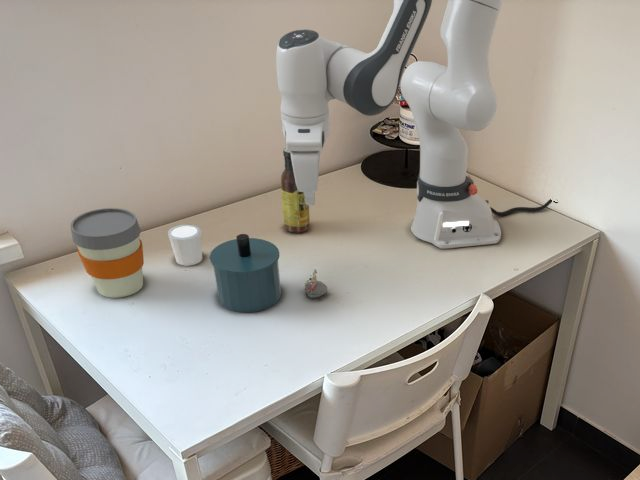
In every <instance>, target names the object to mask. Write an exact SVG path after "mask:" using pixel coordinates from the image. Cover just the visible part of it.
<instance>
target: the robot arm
mask: <svg viewBox="0 0 640 480" xmlns="http://www.w3.org/2000/svg"><path fill="white" fill-rule="evenodd" d="M392 1H393V9H392V13H391V15H390V18H389V20H388V22H387V25H386V27H385V29H384V31H383V33H382V36H381V38H380V40H379V42H378V44H377V46H376V48H375V49H374V50H372V51H371V52H364V51H361V50H359V49H358V48H355V47H353V46H349V45H347V44H345V43H342V42H336V41H332V40H330V39H329V38H326V37H324V36H322V35H320V34H319V32H317V31H315V30H312V29H296V30H292V31H289V32H287V33H285V34H284V35H283V36H282V37H280V38H279V40H278V43H277V47H276V53H275V68H276V83H277V88H278V91H279V94H280V98H281V99H280V105H279V111H280V121H281V130H282V136H283V137H284V139H285V148H287V151H290V153H291V161H292V166H293V172H294V177H295V182H296V186H297V189H298V191H299V192H304V196H305V203H306V205H309V206H315V204H316V195H315V194H316V193H315V192H317V191H318V189H319V188H318V186H319V173H320V171H319V170H320V157H321V153H322V151H323V149H324V145H325V142H326V140H327V138H328V137H329V136H330V133H331V128H330V127H331V124H330V110H329V102H330V101H332V100H337V101H339V102H341V103H343V104H345V105H348V106H349V107H351V108H352V109H354V110H356V112H359V113H360V114H361V115H364V116H368V117H374V116H378V115H379V114H381V113H383V112H385V111H386V110H387V109H388V108H389V107H391V105H392V104H393V103H394V101H395V99H396V97H397V94H398V91H399V87H400V93H401V96H402V97H403V99H404V100H405V102H406V103H407V105H408V107H409V109H410V112H411V115H412V117H413V120H414V123H415V127H416V131H417V135H418V140H419V173H418V175H417V181H416V198H417V202H416V209H415V213H414V218H413V221H412V223H411V226H410V231H411V233H412V234H413V235H414V236H415V237H416V238H417V239H420V240H421V241H424V242H426V243H430V244H432V245H434V246H435V247H437V248H438V249H442V250H443V249H444V250H445V249H454V248H455V249H456V248H466V247H473V246H474V247H476V246H486V245H494V244H495V245H496V244H498V243H499V242H500V240H501V239H502V229H501V225H500V224H499V222H498V221H497V219H495V218H494V215H495V216H499V217H504V216H508V215H510V214H511V213H514V212H539V211H542V210H544V209H546V208H547V207H548V206H550V205H551V204H552V203H554V204H559V201H558V202H555V201H553V202H552V200H551V198H550V199H549V200H547V201H546V202H545V203H544V204H543V205H541V206H536V207H530V206H529V207H528V206H526V207H525V206H516V207H512V208H509V209H506V210H505V211H497V210H495V208H493V207H491V206H490V204H489V200H488V199H487V200H486V199H484V198H482V197H481V196H480V195H479V194H478V191H479V190H478V187H477V185H476V184H475V182H474V180H473V179H472V177H471V176H470V174H468V175H467V170H468V169H467V167H468V156H469V148H468V143H467V142H466V140H465V138H464V137H463V135H462V133H461V131H460V130H464V131H471V132H480V131H482V130H485V129H486V128H487V127H488V126H489V125H490V124H491V123H492V122H493V120H494V118H495V117H496V114H497V110H498V98H497V94H496V92H495V90H494V88H493V86H492V82H491V79H490V72H489V71H490V69H489V55H490V49H491V48H490V47H491V44H492V39H493V36H494V32H495V28H496V25H497V22H498V19H499V15H500V12H501V8H502V4H503V0H447V4H446V7H445V9H444V10H445V11H444V15H443V18H442V22H441V24H440V28H439V34H440V38H441V40H442V42H443V44H444V45H445V49H446V53H447V66H446V65H443V64H440V63H438V62H436V61H435V62H434V61H423V60H418V61H414V62H412V63H410V64H409V65H408V66H407V64H408V61H409V59H410V57H411V55H412V52H413V50H414V48H415V45H416V43H417V41H418V39H419V37H420V34H421V32H422V30H423V28H424V26H425V23H426V21H427V18H428V16H429V12H430V10H431V7H432V3H433V0H392ZM406 66H407V68H406Z"/></svg>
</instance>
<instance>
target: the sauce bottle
mask: <svg viewBox="0 0 640 480" xmlns="http://www.w3.org/2000/svg"><path fill="white" fill-rule="evenodd" d="M282 153H283V157H284V158H283V159H284V170H283V171H282V173H281V176H280V183H281V187H280V190H281V191H280V193H281V206H282V217H283V219H282V220H283V224H284V229H285V230H286V231H288V232H290V233H294V234H299V233H303V232H307V231H308V230H309V229H310V222H311V218H310V205H306V203H305V196H304V192H299V191H298V189H297V186H296V182H295V177H294V172H293V166H292V161H291V153H290V151H287V148H286V147H284V148H283V149H282Z"/></svg>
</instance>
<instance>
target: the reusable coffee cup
mask: <svg viewBox="0 0 640 480" xmlns="http://www.w3.org/2000/svg"><path fill="white" fill-rule="evenodd" d="M69 226H70V232H71V238H72V239H71V240H72V242H73V243H74V244H75V245H76V247H77V254H78V257H79V258H80V261H81V262H82V265H83V267H84V269H85V271H86V273H87V274H88V275H89V276H90V277H91V279H92V281H93V283H94V286H95V288H96V290H97V292H98V294H99V295H101V296H103V297H105V298H112V299H114V298H115V299H116V298H117V299H119V298H125V297H129V296H132V295H134V294H136V293H137V292H139V291H140V290H141V289H142V288H143V286H144V276H143V266H144V263H145V261H144V247H143V242H142V240H141V238H140V235H141V227H140V224H139V221H138V218H137V216H136V214H135V213H134V212H132V211H130V210H128V209H124V208H119V207H118V208H117V207H104V208H97V209H93V210H89V211H86V212H84V213H81V214H79V215H78V216H76V217H75V218H73V220H72V221H70V225H69Z"/></svg>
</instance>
